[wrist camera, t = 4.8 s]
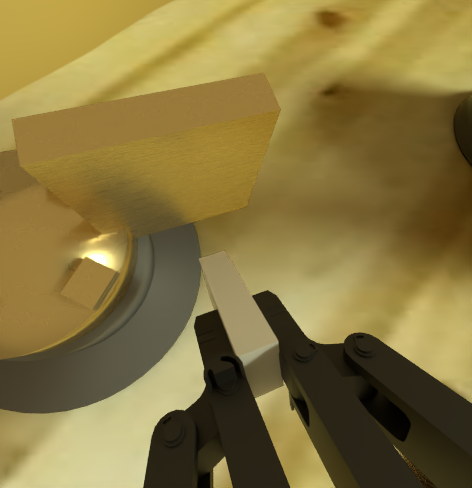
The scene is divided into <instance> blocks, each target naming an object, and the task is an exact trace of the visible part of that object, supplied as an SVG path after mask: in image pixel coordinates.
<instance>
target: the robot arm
mask: <svg viewBox="0 0 472 488" xmlns="http://www.w3.org/2000/svg"><path fill="white" fill-rule="evenodd" d="M454 128H455V134H456V138H457V141H458V143H459V146H460V148H461V150H462V152H463V153H464V155H465V156H466V158H467V159H468V161H469V162H470V163H471V164H472V94H471V95H470V96H469V97H468V98H467V99H466V100H464V101H463V102H462V103H461V105H460V106H459V108H458V109H457V112H456V115H455V120H454ZM199 261H200V265H201V268H202V272H203V275H204V279H205V282H206V285H207V289H208V292H209V296H210V299H211V301H212V304H213V307H214V309H215V310H213V311H211V312H208V313H205V314H202V315H200V316H197V317H196V320H195V324H194V329H195V333H196V337H197V341H198V345H199V349H200V353H201V357H202V361H203V365H204V381H205V383H206V387H205V389H204V392H203V393H202V395H201V396H200V398H199V399H198V400H197V401H196V402H195V403H194V404H192V405H191V406H190V407H189V408H188V409H186V410H185V411H184V410H174V411H172V412H169V413H167V414H166V415H165V416H164V417H162V418H161V419H160V421H159V422H158V424H157V425H156V426H155V429H154V432H153V435H152V438H151V444H150V450H149V456H148V462H147V468H146V474H145V480H144V486H143V488H213V468H214V467H215V466H216V465H217V464H218V463H219V462H220V461H221V460H222V459H223V458H224V457H226V461H227V465H228V469H229V473H230V477H231V481H232V485H233V488H290V486H289V483H288V481H287V478H286V476H285V473H284V471H283V468H282V466H281V463H280V461H279V458H278V456H277V453H276V451H275V448H274V446H273V443H272V441H271V438H270V436H269V433H268V431H267V428H266V426H265V423H264V421H263V418H262V416H261V413H260V411H259V408H258V406H257V403H256V400H255V398H257V397H259V396H261V395H263V394H266V393H268V392H270V391H272V390H275V389H277V388H279V387H281V386H284V385H283V380H284V382H285V384H286V386H287V388H288V390H289V399H290V406H291V409H292V410H294V407H295V409H296V411H297V413H298V415H299V417H300V419H301V421H302V423H303V425H304V427H305V429H306V431H307V433H308V435H309V437H310V439H311V441H312V443H313V445H314V447H315V448H316V450H317V452H318V454H319V456H320V458H321V460H322V462H323V464H324V466H325V468H326V470H327V472H328V474H329V476H330V478H331V480H332V482H333V484H334V486H335V488H424V486H423V485H422V484H421V482H420V481H419V480H418V478H417V477H416V476H415V474H414V473H413V472H412V470H411V469H410V468H409V466H408V465H407V464H406V462H405V461H404V460H403V458H402V457H401V455H400V454H399V453H398V451H397V450H396V449H395V447H396V448H397V449H398V450H399V451H400V452H401V453H402V454H403V455H404V456H405V457H406V458H407V459H408V460H409V461H410V462H411V463H412V464H413V465H414V466H416V467H417V468H418V469H419V470H420V471H421V472H422V473H423V474H424V475H425V476H426V477H427V478H428V479H429V480H430V481H431V482H432V483H433V484H434V485H435V486H436V487H437V488H472V403H470V402H469V401H467V400H466V399H464V398H463V397H461V396H460V395H459V394H457V393H456V392H454V391H453V390H451V389H450V388H448V387H447V386H446V385H444V384H443V383H441V382H440V381H438V380H437V379H435V378H434V377H432V376H431V375H430V374H428V373H427V372H425V371H424V370H422V369H421V368H419V367H418V366H416V365H415V364H414V363H412V362H411V361H409V360H408V359H406V358H405V357H403V356H402V355H400V354H399V353H398V352H396V351H395V350H393V349H392V348H390V347H389V346H387V345H386V344H385V343H383V342H382V341H380V340H379V339H377V338H376V337H374V336H372V335H370V334H366V333H353V334H351V335H349V336H348V337H347V338H346V339H345V341H344V343H340V344H319V343H316V342H315V341H312V340H310V339H309V338H307V337H306V335H305V334H304V333H303V332H302V330H301V329H300V328H299V326H298V325H297V323H296V322H295V321H294V319H293V318H292V316H291V315H290V314H289V312H288V311H287V310H286V308H285V307H284V305H282V303H281V301H280V300H279V298H278V297H277V296H276V295H275V294H273V293H272V292H270V291H268V290H267V291H264V292H261V293H258V294H256V295H253V296H252V295H251V294H250V292H249V290H248V289H247V287H246V285H245V284H244V282H243V280H242V278H241V277H240V275H239V273H238V272H237V270H236V268H235V267H234V265H233V263H232V262H231V260H230V258H229V256H228V255H227V253H226V251H225V250H224V251H221V252H218V253H215V254H212V255H209V256H206V257H202V258H199ZM392 444H393V445H394V446H395V447H394V446H393V445H392Z"/></svg>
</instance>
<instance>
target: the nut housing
mask: <svg viewBox="0 0 472 488" xmlns="http://www.w3.org/2000/svg"><path fill="white" fill-rule="evenodd" d="M199 258H201V256H200V248H199V242H198V237H197V233H196V230H195V227H194V224H193V222H192V223H188V224H185V225H181V226H178V227H174V228H171V229H167V230H164V231H160V232H157V233H153V234H150V235H146V236H143V237H140V238H138V259H137V265H136V269H135V273H134V276H133V279H132V282H131V284H130V286H129V288H128V290H127V292H126V294H125V296H124V297H123V299H122V300H121V302H120V303H119V304H118V306H117V307H116V308H115V309H114V311H113V312H112V313H111V314H110V315H109V316H108V317H107V318H106V319H105V320H104V321H103V322H102V323H101V324H100V325H98V326H97V327H96V328H94V329H93V330H92V331H90V332H89V333H87V334H86V335H84V336H82V337H81V338H79V339H77V340H75V341H73V342H71V343H69V344H66V345H64V346H61V347H59V348H55V349H51V350H48V351H44V352H39V353H34V354H29V355H24V356H18V357H13V358H7V359H1V360H0V408H1V409H4V410H10V411H16V412H22V413H53V412H62V411H68V410H72V409H76V408H80V407H84V406H88V405H90V404H93V403H96V402H98V401H101V400H103V399H106V398H108V397H110V396H112V395H114V394H115V393H117V392H119V391H121V390H123V389H125V388H126V387H128V386H129V385H131V384H132V383H133V382H135V381H136V380H138V379H139V378H140V377H142V376H143V375H144V374H145V373H146V372H148V371H149V370H150V369H151V368H152V367H153V366H154V365H155V364H156V363H158V362H159V361H160V360H161V359H162V358H163V356H164V355H165V354H166V353H167V352H168V351H169V350H170V348H171V347H172V346H173V345H174V343H175V342H176V340H177V339H178V337H179V336H180V334H181V333H182V331H183V330H184V328H185V326H186V324H187V322H188V320H189V318H190V316H191V313H192V310H193V308H194V305H195V302H196V299H197V295H198V290H199V286H200V276H201V265H200V261H199Z"/></svg>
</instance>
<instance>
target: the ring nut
mask: <svg viewBox="0 0 472 488" xmlns="http://www.w3.org/2000/svg"><path fill="white" fill-rule="evenodd" d="M280 110H281V109H280V107H279V104H278V102H277V100H276V98H275V96H274V94H273V92H272V89H271V87H270V85H269V83H268V81H267V79H266V76H265V74H264V73H259V74H254V75H248V76H243V77H237V78H232V79H227V80H221V81H216V82H211V83H205V84H200V85H194V86H189V87H184V88H178V89H173V90H167V91H162V92H157V93H151V94H146V95H140V96H135V97H130V98H124V99H119V100H114V101H108V102H103V103H97V104H92V105H87V106H81V107H76V108H70V109H65V110H60V111H54V112H49V113H43V114H38V115H33V116H27V117H22V118H17V119H12V123H13V129H14V135H15V140H16V146H17V150H11V151H5V152H0V360H1V359H7V358H13V357H18V356H24V355H29V354H34V353H39V352H44V351H48V350H51V349H55V348H59V347H61V346H64V345H66V344H69V343H71V342H73V341H75V340H77V339H79V338H81V337H82V336H84V335H86V334H87V333H89V332H90V331H92V330H93V329H94V328H96V327H97V326H98V325H100V324H101V323H102V322H103V321H104V320H105V319H106V318H107V317H108V316H109V315H110V314H111V313H112V312H113V311H114V309H115V308H116V307H117V306H118V304H119V303H120V302H121V300H122V299H123V297H124V296H125V294H126V292H127V290H128V288H129V286H130V284H131V282H132V279H133V276H134V273H135V269H136V265H137V259H138V238H140V237H143V236H146V235H150V234H153V233H157V232H160V231H164V230H167V229H171V228H174V227H178V226H181V225H185V224H188V223H192V222H195V221H199V220H202V219H206V218H209V217H213V216H216V215H220V214H223V213H226V212H230V211H233V210H237V209H240V208H244V207H246V206H247V203H248V200H249V197H250V195H251V192H252V189H253V186H254V183H255V180H256V178H257V175H258V172H259V169H260V166H261V164H262V161H263V158H264V155H265V152H266V150H267V147H268V144H269V141H270V138H271V135H272V133H273V130H274V127H275V124H276V121H277V119H278V116H279V113H280Z"/></svg>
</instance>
